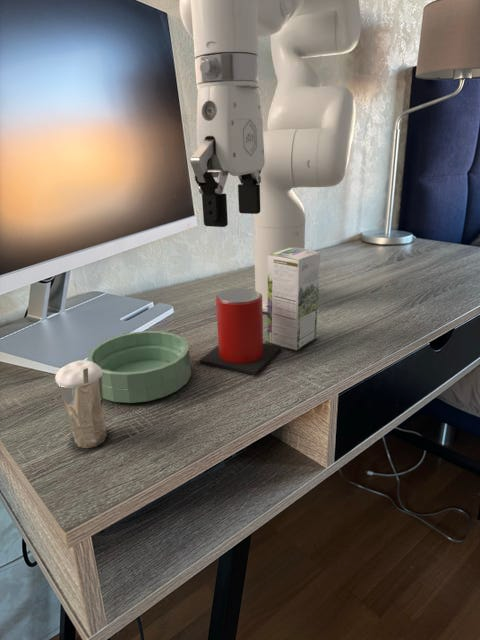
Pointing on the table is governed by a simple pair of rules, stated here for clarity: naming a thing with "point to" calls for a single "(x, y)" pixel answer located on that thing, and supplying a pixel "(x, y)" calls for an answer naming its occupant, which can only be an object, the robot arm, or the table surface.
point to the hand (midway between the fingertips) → (233, 219)
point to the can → (240, 325)
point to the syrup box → (292, 297)
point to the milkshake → (83, 401)
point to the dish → (142, 365)
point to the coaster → (249, 368)
